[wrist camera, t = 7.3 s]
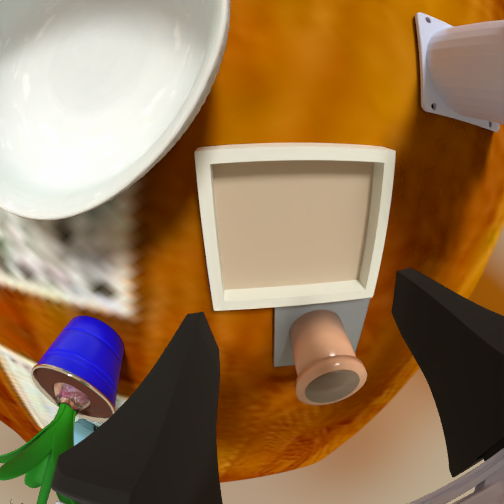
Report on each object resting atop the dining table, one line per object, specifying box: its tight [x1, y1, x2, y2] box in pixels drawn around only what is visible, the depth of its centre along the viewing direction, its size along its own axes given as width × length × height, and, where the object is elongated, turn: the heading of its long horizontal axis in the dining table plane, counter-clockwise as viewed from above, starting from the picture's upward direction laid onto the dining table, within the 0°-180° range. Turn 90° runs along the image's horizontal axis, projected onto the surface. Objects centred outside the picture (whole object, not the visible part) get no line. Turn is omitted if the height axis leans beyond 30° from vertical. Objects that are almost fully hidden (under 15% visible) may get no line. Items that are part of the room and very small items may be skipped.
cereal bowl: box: [0, 0, 230, 220], centre depth 10 cm, size 17×17×7 cm
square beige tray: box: [194, 143, 396, 311], centre depth 18 cm, size 12×11×2 cm
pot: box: [289, 310, 367, 405], centre depth 20 cm, size 5×5×6 cm
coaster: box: [273, 298, 370, 367], centre depth 23 cm, size 8×8×1 cm
